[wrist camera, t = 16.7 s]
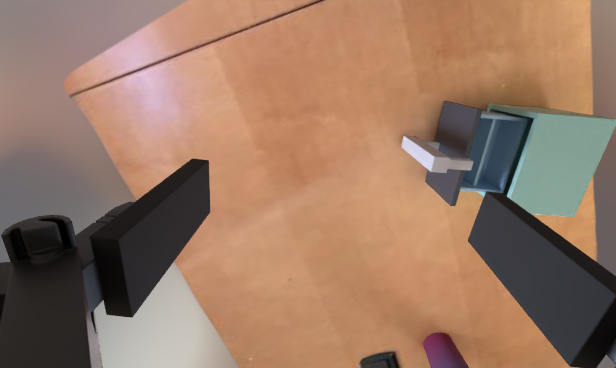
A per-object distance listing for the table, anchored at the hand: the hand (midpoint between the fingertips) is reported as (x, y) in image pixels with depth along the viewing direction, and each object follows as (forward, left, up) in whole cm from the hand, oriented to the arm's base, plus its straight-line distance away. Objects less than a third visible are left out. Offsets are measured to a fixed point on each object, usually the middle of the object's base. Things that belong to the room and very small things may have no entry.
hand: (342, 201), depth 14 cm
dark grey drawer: (-6, +16, -25) cm, 30 cm away
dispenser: (-10, +23, -26) cm, 36 cm away
